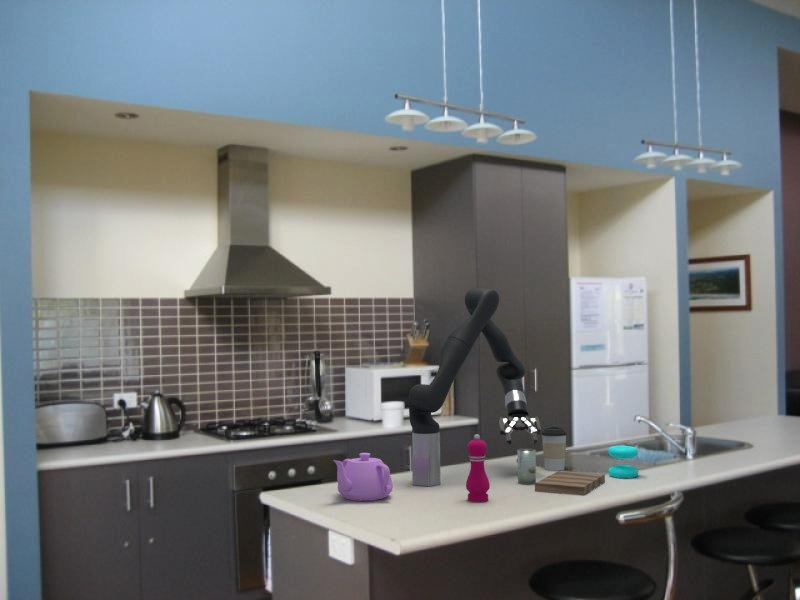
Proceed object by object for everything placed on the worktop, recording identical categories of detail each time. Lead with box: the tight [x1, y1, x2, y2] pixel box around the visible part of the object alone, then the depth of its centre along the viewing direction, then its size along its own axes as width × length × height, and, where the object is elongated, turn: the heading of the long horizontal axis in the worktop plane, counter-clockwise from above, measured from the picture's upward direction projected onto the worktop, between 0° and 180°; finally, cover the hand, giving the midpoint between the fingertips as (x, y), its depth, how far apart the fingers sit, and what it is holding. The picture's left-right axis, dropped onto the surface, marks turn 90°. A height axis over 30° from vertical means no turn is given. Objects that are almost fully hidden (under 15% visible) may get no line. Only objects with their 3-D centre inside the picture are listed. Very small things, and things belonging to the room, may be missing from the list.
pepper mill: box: [465, 433, 491, 503], centre depth 262 cm, size 7×7×20 cm
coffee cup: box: [540, 426, 568, 472], centre depth 313 cm, size 9×9×15 cm
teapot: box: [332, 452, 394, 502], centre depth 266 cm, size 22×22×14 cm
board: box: [534, 470, 606, 496], centre depth 280 cm, size 24×16×2 cm, turn 152°
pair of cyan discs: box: [607, 445, 639, 479], centre depth 297 cm, size 10×10×10 cm
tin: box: [516, 448, 537, 486], centre depth 288 cm, size 6×6×11 cm
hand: (522, 442), depth 295 cm, fingers open, 8 cm apart
